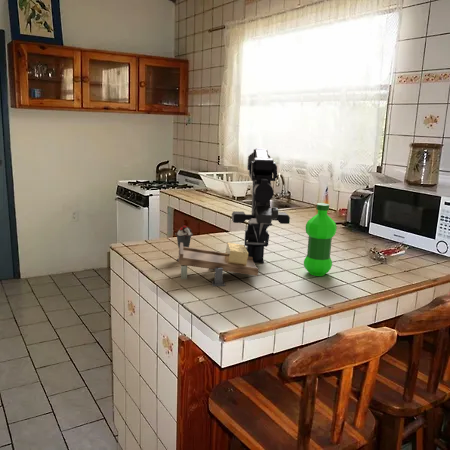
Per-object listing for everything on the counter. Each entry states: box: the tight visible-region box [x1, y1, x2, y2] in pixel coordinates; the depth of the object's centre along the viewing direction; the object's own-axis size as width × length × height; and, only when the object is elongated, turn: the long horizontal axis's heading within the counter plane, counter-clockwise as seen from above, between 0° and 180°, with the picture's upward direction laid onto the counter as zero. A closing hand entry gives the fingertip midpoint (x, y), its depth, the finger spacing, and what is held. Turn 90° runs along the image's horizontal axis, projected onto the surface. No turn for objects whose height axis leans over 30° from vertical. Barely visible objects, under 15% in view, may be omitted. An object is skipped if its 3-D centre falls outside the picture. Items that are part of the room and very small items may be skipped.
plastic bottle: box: [303, 202, 338, 277], centre depth 158 cm, size 10×10×25 cm
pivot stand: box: [180, 265, 226, 287], centre depth 153 cm, size 14×19×6 cm
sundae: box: [174, 221, 194, 262], centre depth 169 cm, size 7×7×15 cm
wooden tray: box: [178, 242, 260, 277], centre depth 153 cm, size 26×15×4 cm, turn 96°
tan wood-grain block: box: [224, 242, 249, 266], centre depth 154 cm, size 6×10×5 cm, turn 6°
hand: (259, 242), depth 153 cm, fingers closed
